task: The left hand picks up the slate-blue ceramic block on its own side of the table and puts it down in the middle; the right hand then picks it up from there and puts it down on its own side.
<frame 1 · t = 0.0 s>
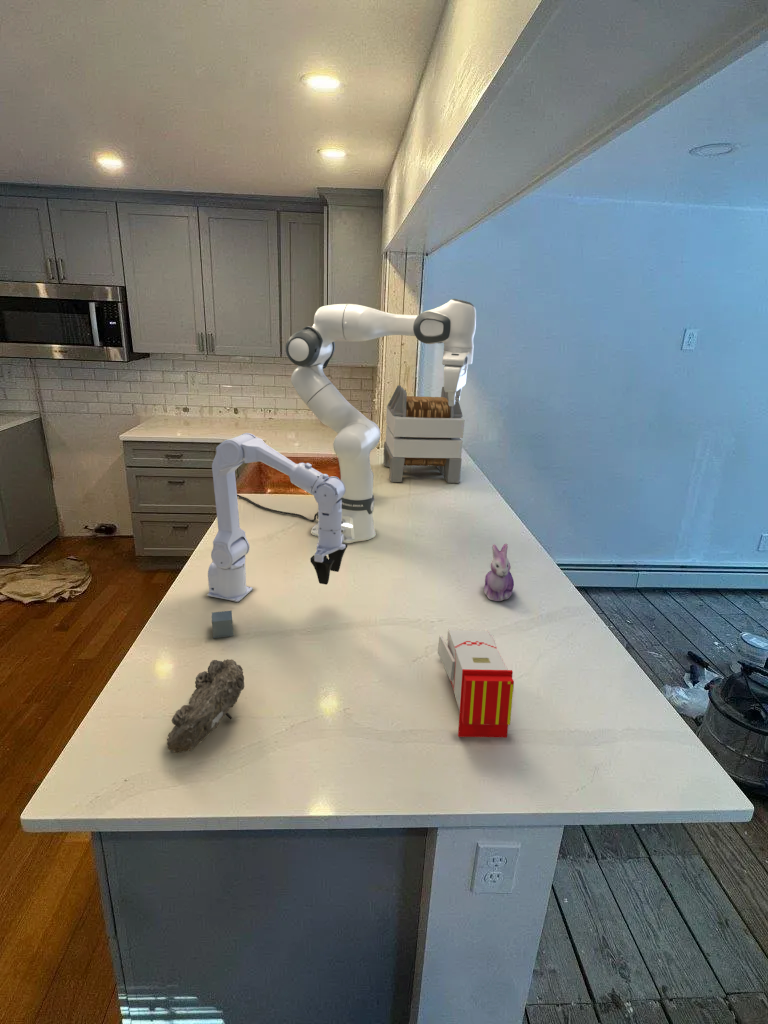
left hand: (329, 576, 144), 10 cm above the counter, tool pointing down, fingers open, 7 cm apart
right hand: (454, 403, 174), 48 cm above the counter, tool pointing down, fingers open, 8 cm apart
block: (222, 632, 136), on the counter
fossil: (212, 717, 108), on the counter
figurine: (498, 594, 160), on the counter
transformer: (419, 473, 275), on the counter
toy: (469, 691, 119), on the counter
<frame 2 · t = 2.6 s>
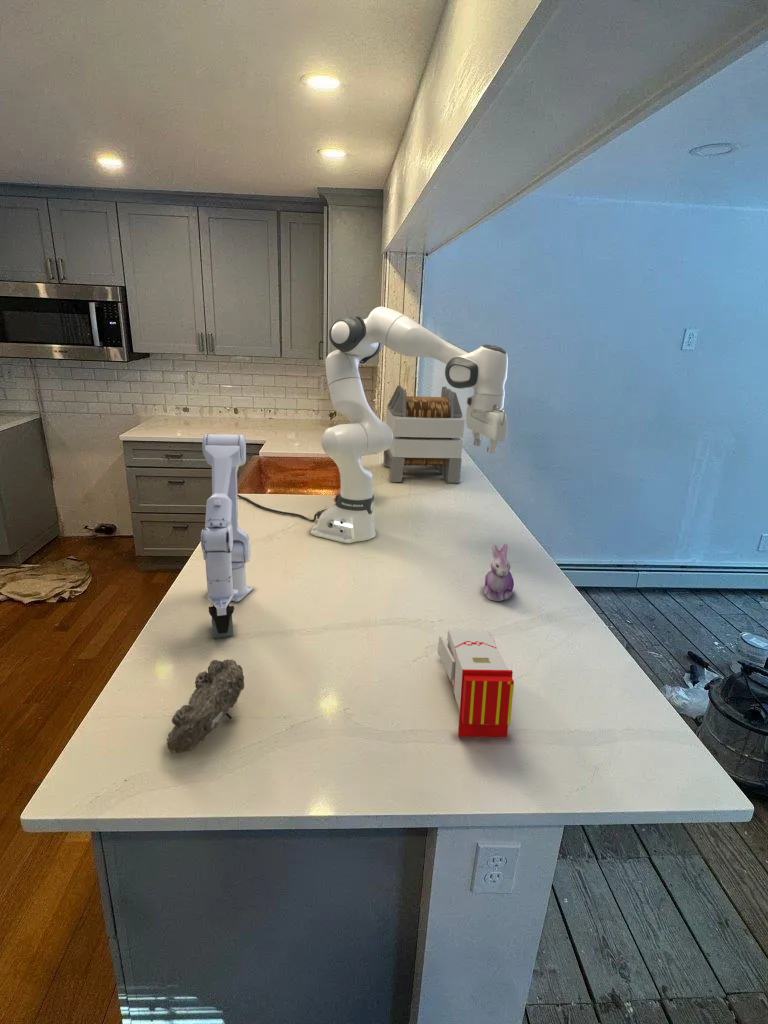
left hand: (222, 627, 135), 1 cm above the counter, tool pointing down, fingers closed on block, 4 cm apart
right hand: (483, 449, 171), 36 cm above the counter, tool pointing down, fingers open, 8 cm apart
block: (222, 632, 136), on the counter, touching left hand
everything else where it was.
when the left hand's fingers open (3 cm above the counter, at t = 7.4 s): block drops 1 cm, on the counter.
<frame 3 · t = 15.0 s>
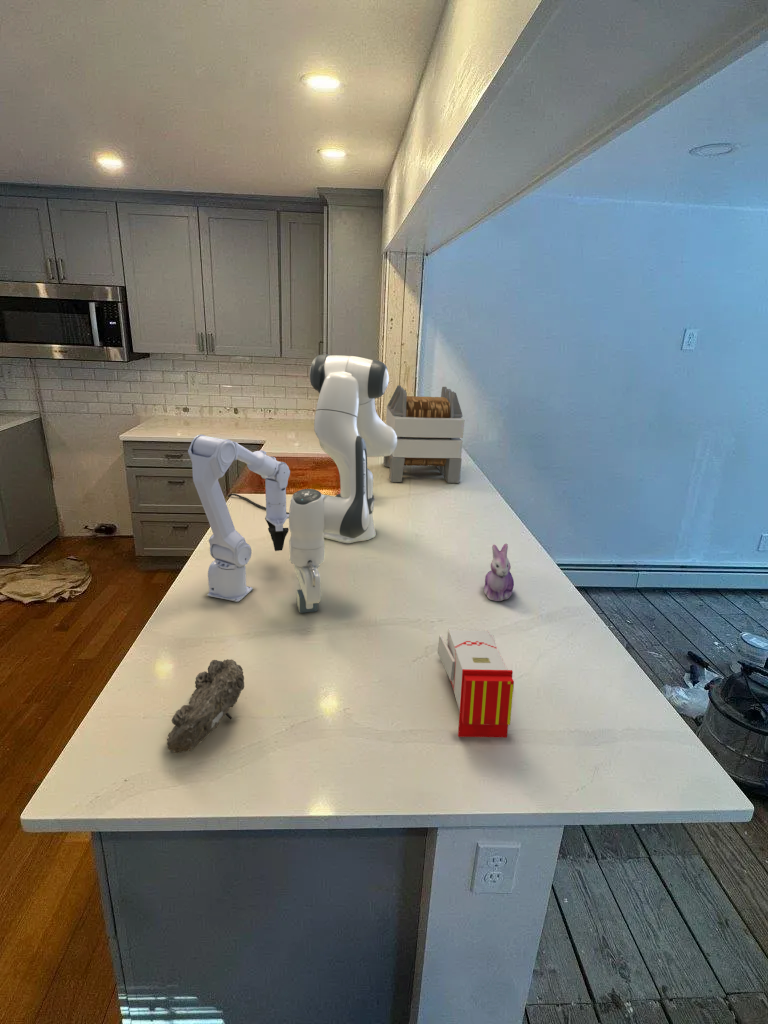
left hand: (277, 545, 167), 8 cm above the counter, tool pointing down, fingers open, 7 cm apart
right hand: (307, 602, 148), 2 cm above the counter, tool pointing down, fingers closed on block, 4 cm apart
block: (307, 607, 148), on the counter, touching right hand
everything else where it was.
when the right hand's fingers open (3 cm above the counter, at t = 24.5 s): block drops 1 cm, on the counter.
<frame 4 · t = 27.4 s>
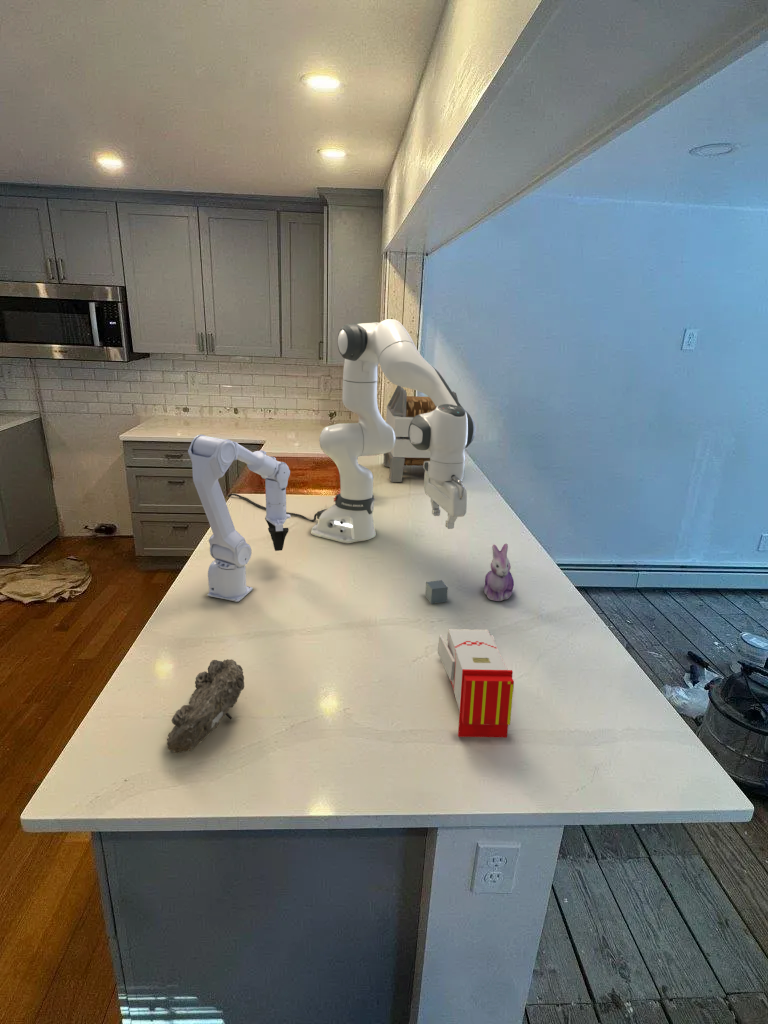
left hand: (277, 545, 167), 8 cm above the counter, tool pointing down, fingers open, 7 cm apart
right hand: (442, 521, 148), 23 cm above the counter, tool pointing down, fingers open, 8 cm apart
block: (435, 598, 156), on the counter
everything else where it was.
at the end: block inside the target area (0.1 cm from its centre), on the counter; block tilted 0°; the two hands never held the block at the same time; the left hand is holding nothing; the right hand is holding nothing; block at rest at the end (0.0 cm/s) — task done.
